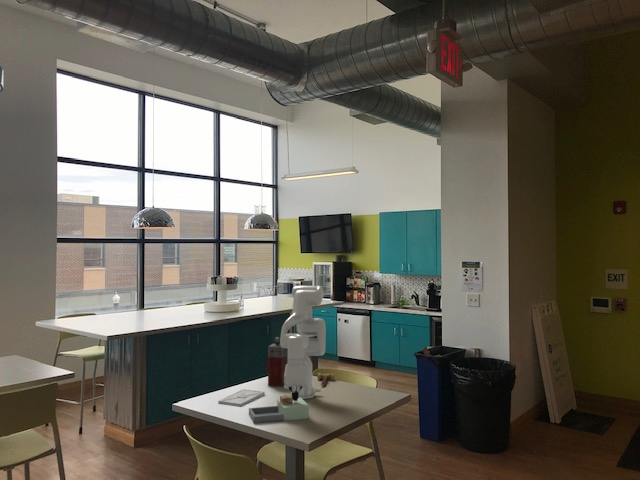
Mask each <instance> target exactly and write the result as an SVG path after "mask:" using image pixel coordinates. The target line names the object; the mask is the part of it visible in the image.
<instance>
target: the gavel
mask: <svg viewBox="0 0 640 480" xmlns="http://www.w3.org/2000/svg"><path fill="white" fill-rule="evenodd" d="M321 379H323V380H321ZM328 380H329V381H331V380H334V381H335V373H322V372H318V373H317V381H321V382H320V386H322V387H321V388H324V387H326V384H327V382H328ZM323 386H324V387H323Z"/></svg>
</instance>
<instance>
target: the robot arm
mask: <svg viewBox="0 0 640 480" xmlns="http://www.w3.org/2000/svg"><path fill="white" fill-rule="evenodd" d="M291 291H292V292H291V293H292V298H293V300H292V301H293V302H292V311H291V315H290V316H289V317H288V318H287V319H286V320H285V321H284V322H283V324H282V326H281V331H280V344H281V346H282V347H283V348H287V363H286V366H285V373H284V384H285V385H284V386H283V388H284V389H286V390H289V391H291V396H292V397H293V400H294V401H298V398H302V399H303V400H308V399H312V398H315V397H316V393H321V391H322V389H321V388H320V387H319V388H317V387H313V362H312V360H311V358H309V356H312V357H313V356H316V357H319V356H321V357H322V356H324V354H325V353H326V345H327V344H326V339H327V338H326V335H327V334H326V332H327V330H326V327H327V326H326V322H325V319H324V318H320V317H313V308H312V307H317V306H318V307H319V306H321V304H322V301H323V299H324V295H325V294H324V288H323V286H322V285H321V286H320V285H296V286H294V287H292V290H291ZM295 326H296V333H295V332H288V331H289V330H290V329H291V328H292V327H295ZM310 336H316V337H310ZM314 396H315V397H314Z"/></svg>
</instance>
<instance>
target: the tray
mask: <svg viewBox="0 0 640 480" xmlns="http://www.w3.org/2000/svg"><path fill="white" fill-rule="evenodd" d="M248 415H249V418H250V420H251V421H252V423H253V424H262V423H272V422H273V423H274V422H283V421H284V414H279V412H278V406H277V405H271V406H258V407H257V406H256V407H248ZM284 422H285V421H284Z"/></svg>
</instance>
